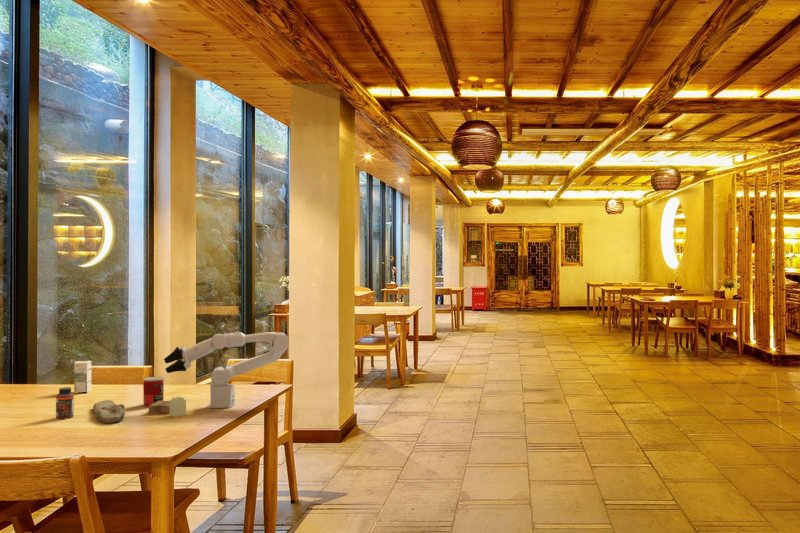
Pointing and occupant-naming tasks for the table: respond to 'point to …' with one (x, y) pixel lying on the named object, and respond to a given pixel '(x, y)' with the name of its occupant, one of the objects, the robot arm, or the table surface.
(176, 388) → the table surface
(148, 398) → the canned food
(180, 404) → the cream cube with panel
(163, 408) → the walnut box
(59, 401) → the supplement bottle
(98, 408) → the long grey stone
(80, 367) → the syrup box
